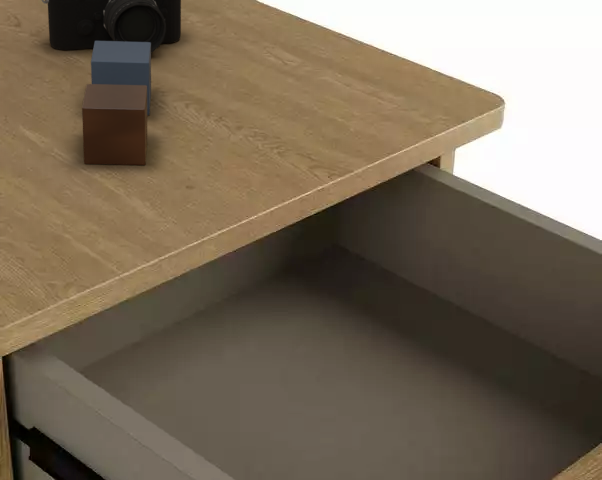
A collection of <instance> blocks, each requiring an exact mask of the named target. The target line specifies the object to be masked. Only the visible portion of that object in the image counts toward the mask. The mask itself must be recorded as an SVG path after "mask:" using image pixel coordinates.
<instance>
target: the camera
mask: <svg viewBox="0 0 602 480" xmlns="http://www.w3.org/2000/svg"><path fill="white" fill-rule="evenodd" d="M41 2H42V3H43V4H44V5H45V4H47V19H48V35H49V36H48V37H49V45H50V47H51V48H53V49H55V50H59V51H73V50H74V51H77V50H87V49H88V50H89V49H93V48H94V43H95V41H123V42H151V53H153V52H155V51H156V50H157V49H159V48H160V46H161V45H163V44H164V45H165V44H173V43H177V42H178V41H180V39H181V34H182V0H41Z"/></svg>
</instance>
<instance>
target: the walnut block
mask: <svg viewBox="0 0 602 480" xmlns="http://www.w3.org/2000/svg"><path fill="white" fill-rule="evenodd" d="M81 118H82V144H83V145H82V146H83V148H82V149H83V164H85V165H124V166H125V165H127V166H129V165H130V166H145V165H146V162H147V148H148V116H147V86H146V85H110V84H92V83H87V84H86V85H85V89H84V96H83V101H82V107H81Z"/></svg>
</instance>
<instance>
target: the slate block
mask: <svg viewBox="0 0 602 480" xmlns="http://www.w3.org/2000/svg"><path fill="white" fill-rule="evenodd" d="M90 75H91V78H90V79H91V80H90V81H91V84H110V85H146V86H147V117H148V116H150V115H151V114H150V113H151V101H152V100H151V99H152V52H151V42H123V41H95V43H94V48H92V53H91V59H90Z"/></svg>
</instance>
